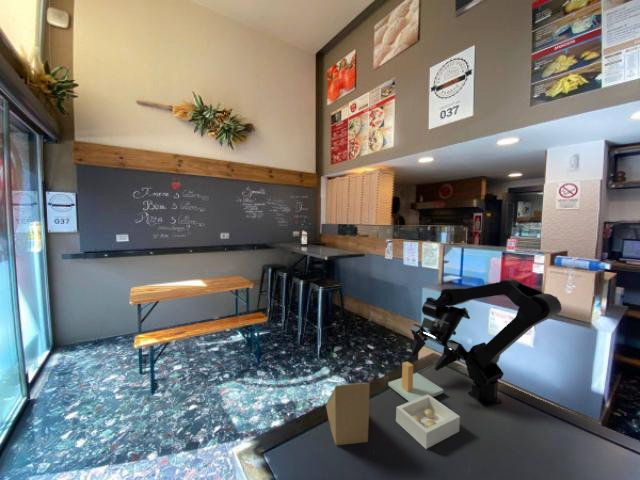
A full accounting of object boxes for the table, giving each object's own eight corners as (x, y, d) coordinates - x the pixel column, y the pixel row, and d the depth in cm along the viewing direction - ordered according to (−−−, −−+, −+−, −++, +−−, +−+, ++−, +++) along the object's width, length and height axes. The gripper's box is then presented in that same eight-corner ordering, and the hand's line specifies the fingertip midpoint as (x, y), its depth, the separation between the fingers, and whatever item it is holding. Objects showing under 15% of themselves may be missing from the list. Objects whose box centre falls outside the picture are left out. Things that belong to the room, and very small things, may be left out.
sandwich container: (353, 401, 81) (353, 352, 80) (369, 442, 66) (370, 383, 65) (324, 403, 80) (325, 354, 79) (334, 446, 65) (335, 385, 64)
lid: (416, 378, 93) (417, 350, 93) (443, 395, 84) (444, 364, 83) (388, 388, 87) (389, 358, 87) (413, 408, 78) (414, 374, 77)
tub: (427, 407, 78) (428, 394, 78) (459, 431, 69) (459, 416, 69) (395, 421, 73) (396, 407, 72) (426, 449, 64) (426, 432, 64)
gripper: (414, 301, 96) (389, 337, 92) (463, 318, 79) (436, 363, 75) (428, 319, 100) (406, 354, 96) (478, 338, 84) (454, 383, 79)
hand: (423, 362), depth 86 cm, fingers open, 9 cm apart
